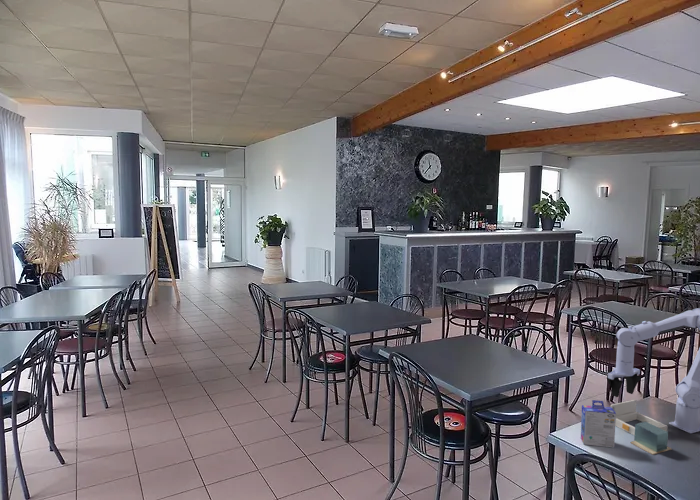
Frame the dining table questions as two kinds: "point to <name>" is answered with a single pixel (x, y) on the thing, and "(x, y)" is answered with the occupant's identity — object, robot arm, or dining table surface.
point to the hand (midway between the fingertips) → (622, 394)
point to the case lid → (624, 407)
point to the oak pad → (648, 448)
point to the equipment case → (633, 416)
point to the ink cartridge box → (598, 425)
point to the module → (651, 436)
